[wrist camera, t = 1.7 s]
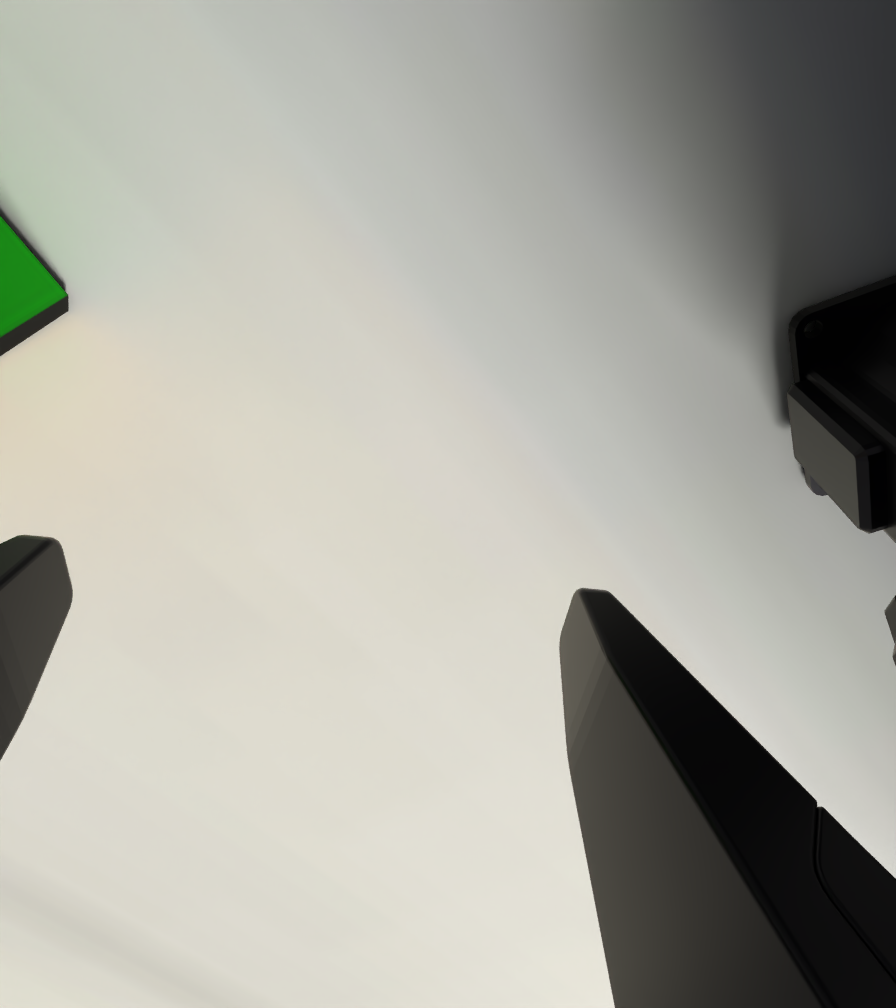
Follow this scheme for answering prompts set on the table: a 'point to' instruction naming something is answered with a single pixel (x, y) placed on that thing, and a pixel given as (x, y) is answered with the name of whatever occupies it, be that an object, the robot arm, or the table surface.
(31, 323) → the puzzle cube
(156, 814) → the table surface
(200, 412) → the table surface
